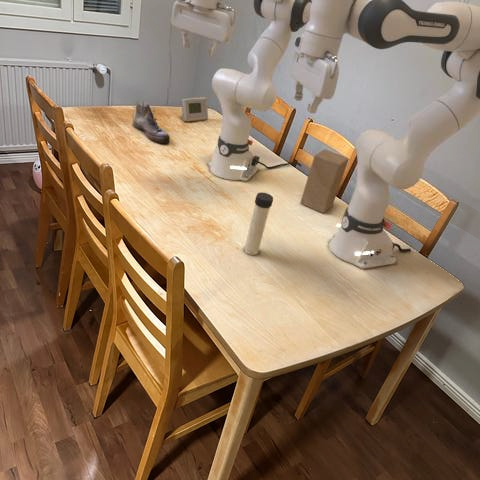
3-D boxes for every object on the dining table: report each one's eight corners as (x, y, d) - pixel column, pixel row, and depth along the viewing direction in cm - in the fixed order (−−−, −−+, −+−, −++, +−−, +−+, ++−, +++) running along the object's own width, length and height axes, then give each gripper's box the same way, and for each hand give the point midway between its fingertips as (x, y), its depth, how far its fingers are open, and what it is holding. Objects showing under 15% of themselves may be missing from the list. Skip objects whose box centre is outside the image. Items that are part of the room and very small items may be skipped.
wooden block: (323, 213, 164) (339, 164, 154) (299, 203, 168) (314, 154, 157) (332, 205, 172) (349, 158, 161) (310, 195, 176) (324, 148, 165)
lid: (271, 201, 128) (273, 194, 127) (271, 209, 124) (273, 202, 123) (254, 198, 128) (256, 191, 126) (254, 206, 123) (256, 198, 122)
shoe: (173, 145, 192) (176, 117, 186) (149, 145, 187) (151, 117, 180) (153, 123, 209) (155, 98, 203) (130, 123, 204) (132, 97, 197)
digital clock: (183, 122, 219) (186, 101, 213) (175, 116, 224) (177, 95, 219) (211, 122, 228) (214, 101, 222) (202, 115, 233) (205, 95, 228)
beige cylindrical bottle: (258, 248, 136) (271, 195, 127) (258, 256, 133) (272, 202, 123) (244, 245, 136) (257, 193, 126) (244, 253, 132) (257, 200, 123)
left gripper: (242, 8, 122) (233, 60, 129) (184, -8, 129) (179, 42, 137) (230, 7, 117) (221, 61, 124) (170, -10, 125) (165, 42, 132)
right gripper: (351, 60, 96) (332, 121, 103) (315, 40, 112) (300, 95, 119) (326, 55, 94) (308, 119, 101) (292, 36, 110) (279, 92, 117)
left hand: (198, 51), depth 131 cm, fingers open, 8 cm apart
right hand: (304, 105), depth 110 cm, fingers open, 8 cm apart
